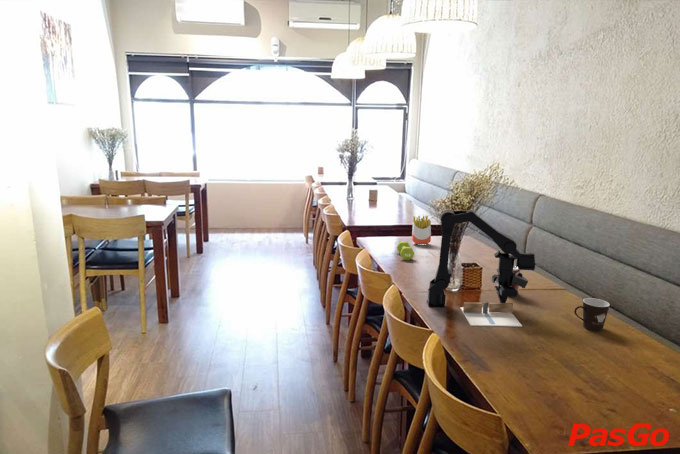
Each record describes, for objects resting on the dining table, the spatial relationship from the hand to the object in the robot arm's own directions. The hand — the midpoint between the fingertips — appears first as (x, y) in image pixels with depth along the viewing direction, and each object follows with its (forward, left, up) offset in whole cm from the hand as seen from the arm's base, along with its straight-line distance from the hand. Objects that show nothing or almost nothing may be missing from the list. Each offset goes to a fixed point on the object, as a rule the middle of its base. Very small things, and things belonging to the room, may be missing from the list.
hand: (502, 305), depth 187 cm
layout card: (-7, -7, -2) cm, 10 cm away
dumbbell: (-31, +76, -2) cm, 82 cm away
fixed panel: (-12, -4, -2) cm, 13 cm away
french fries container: (-18, +103, -2) cm, 105 cm away
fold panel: (-2, -4, -1) cm, 5 cm away
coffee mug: (+27, -15, -2) cm, 31 cm away
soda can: (+9, +19, -2) cm, 21 cm away
